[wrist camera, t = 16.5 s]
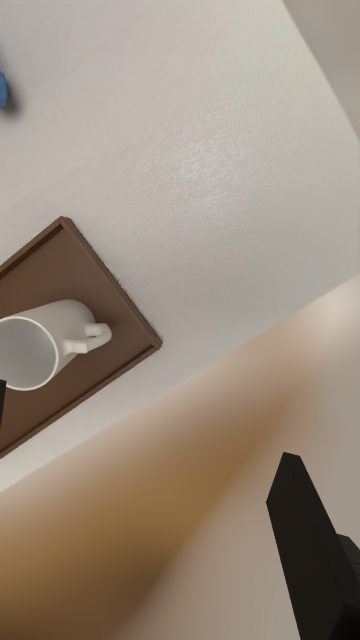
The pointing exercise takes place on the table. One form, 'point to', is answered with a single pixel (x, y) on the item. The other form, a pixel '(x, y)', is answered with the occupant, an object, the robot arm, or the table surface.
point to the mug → (46, 342)
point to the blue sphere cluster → (3, 90)
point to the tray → (106, 360)
